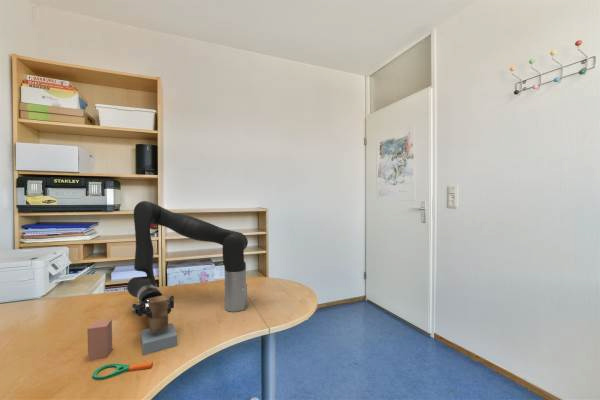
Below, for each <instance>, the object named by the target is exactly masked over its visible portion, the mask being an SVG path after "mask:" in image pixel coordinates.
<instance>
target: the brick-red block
mask: <svg viewBox="0 0 600 400" xmlns="http://www.w3.org/2000/svg"><path fill="white" fill-rule="evenodd" d="M86 331H87V362H88V361H95V360H101V359H105V358H108V357H109V355H110V353H111V351H113V319H112V318H111V319H110V318H109V319H102V320H95V321H94V320H93V321H92V323H91V324H90V325H89V326H88V328H87V329H86Z"/></svg>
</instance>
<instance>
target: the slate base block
mask: <svg viewBox="0 0 600 400" xmlns="http://www.w3.org/2000/svg"><path fill="white" fill-rule="evenodd" d="M140 340H141V341H140V342H141V348H142V349H141V350H142V355H143V356H145V355H148V354H152V353H157V352H160V351H164V350H166V349H170V348H174V347H177V346H178V334H177V332H176V328H175V326H174V323H173V322H170V323H168V329H164V330H161V331H157V332H154V333H152V332H151V330H150V328H149V327H148V328H145V329H142V330H140Z"/></svg>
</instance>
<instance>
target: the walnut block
mask: <svg viewBox="0 0 600 400" xmlns="http://www.w3.org/2000/svg"><path fill="white" fill-rule="evenodd" d="M148 306H149V308H150V310H151V312H152V318H150V319H149V318H148V329H149V328H150V330H151V332H152V333H154V332H157V331H161V330H164V329H168V324H169V314H168V299H167V296H166V295H164V294H162V296H157V297H153V298H148Z"/></svg>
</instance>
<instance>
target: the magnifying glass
mask: <svg viewBox="0 0 600 400" xmlns="http://www.w3.org/2000/svg"><path fill="white" fill-rule="evenodd" d="M153 363H154V362H153V361H148V362H141V363H136V364H135V363H134V364H123V363H117V362H115V363H114V362H113V363H108V364H104V365H100V366H99V367H97V368H96V369H95V370H94V371H93V372H92V374H91V375H92V376H91V377H92V379H93V380H95V381H103V380H107V379H108V380H109V379H110V378H114V377H116V376H119V375H122V374H124V373H128V372H133V371H134V372H135V371H140V370H148V369H152V368H153V365H154V364H153ZM109 368H114V369H115V370H114V371H112V372H110V373H109V374H106V375H103V376H101V375H98V374H99V373H100V372H101V371H104V370H106V369H109Z"/></svg>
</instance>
